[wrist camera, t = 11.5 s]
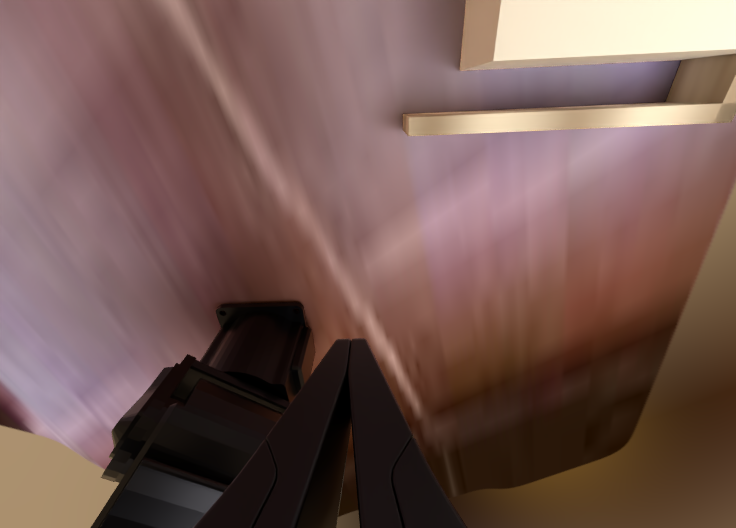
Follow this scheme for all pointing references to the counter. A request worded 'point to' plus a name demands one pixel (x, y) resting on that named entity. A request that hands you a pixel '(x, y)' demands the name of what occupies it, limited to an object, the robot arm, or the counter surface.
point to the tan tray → (606, 107)
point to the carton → (593, 32)
